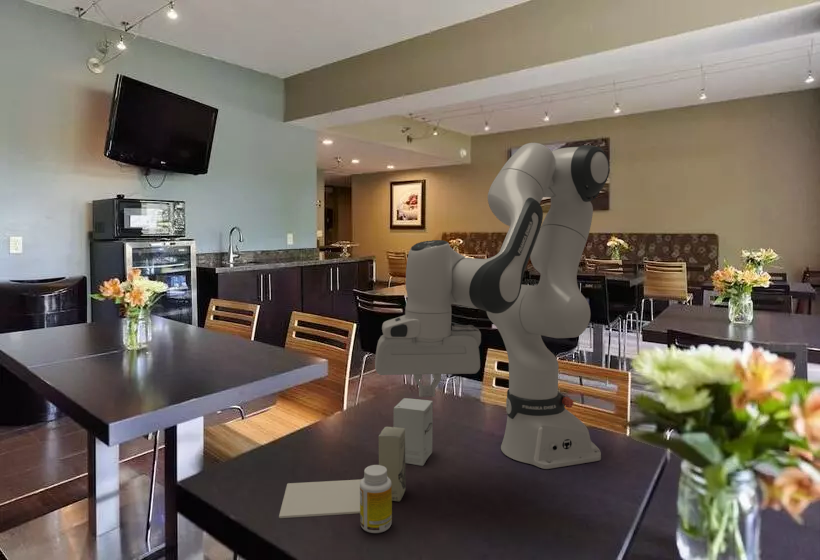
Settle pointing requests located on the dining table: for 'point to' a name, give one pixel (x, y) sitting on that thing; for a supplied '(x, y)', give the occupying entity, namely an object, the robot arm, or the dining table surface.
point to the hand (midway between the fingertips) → (426, 395)
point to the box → (393, 458)
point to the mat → (321, 498)
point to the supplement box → (415, 428)
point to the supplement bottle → (375, 500)
